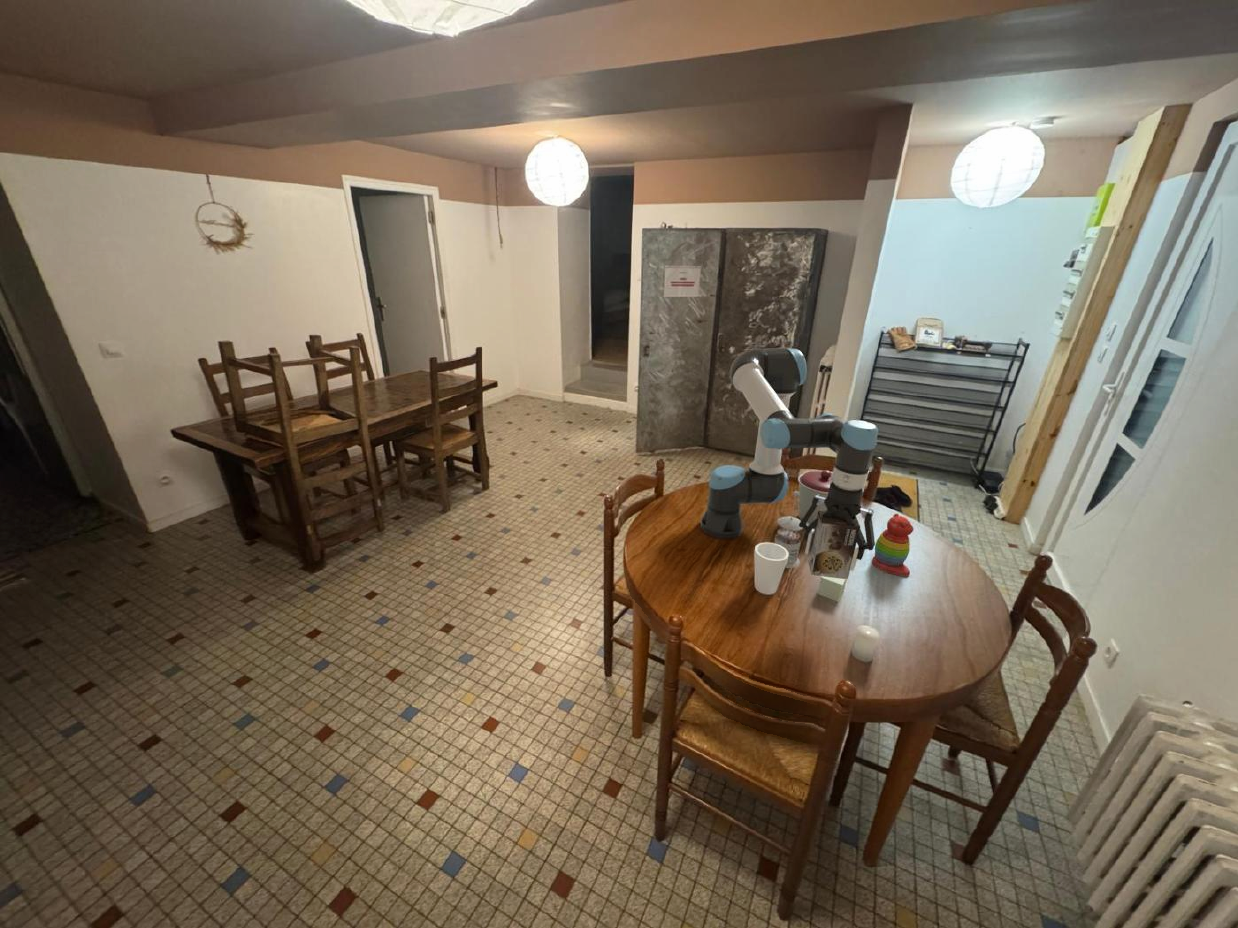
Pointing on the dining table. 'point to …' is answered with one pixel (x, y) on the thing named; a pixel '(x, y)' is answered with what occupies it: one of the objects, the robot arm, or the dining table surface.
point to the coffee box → (832, 547)
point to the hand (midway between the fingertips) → (829, 559)
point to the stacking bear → (893, 546)
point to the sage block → (831, 587)
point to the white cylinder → (865, 643)
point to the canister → (812, 491)
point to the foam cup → (769, 566)
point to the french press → (790, 537)
